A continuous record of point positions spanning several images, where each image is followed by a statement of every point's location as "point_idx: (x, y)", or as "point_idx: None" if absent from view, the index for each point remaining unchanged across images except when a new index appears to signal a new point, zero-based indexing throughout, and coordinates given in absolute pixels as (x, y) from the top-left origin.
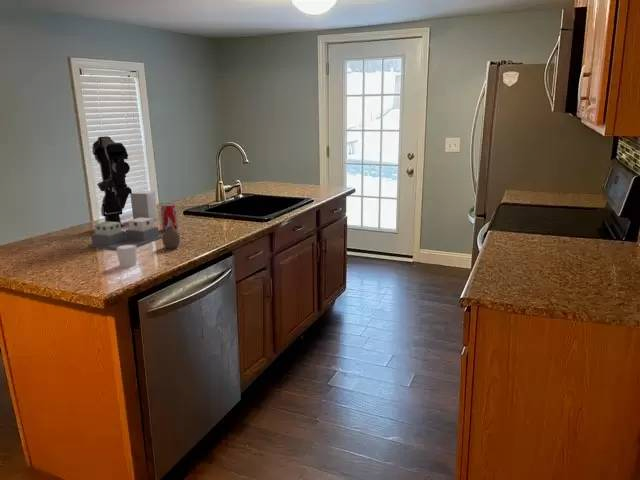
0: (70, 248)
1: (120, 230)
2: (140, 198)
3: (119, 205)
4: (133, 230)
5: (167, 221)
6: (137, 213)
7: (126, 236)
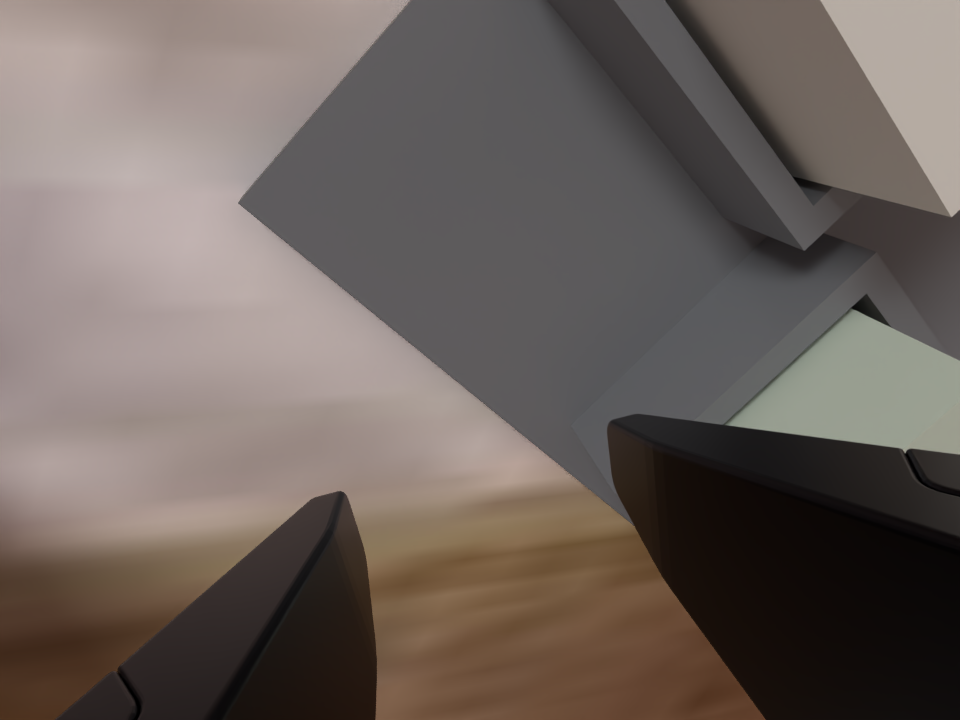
0: (678, 689)
1: (883, 329)
2: None
3: (366, 596)
4: None
5: None
6: None
7: (748, 224)
